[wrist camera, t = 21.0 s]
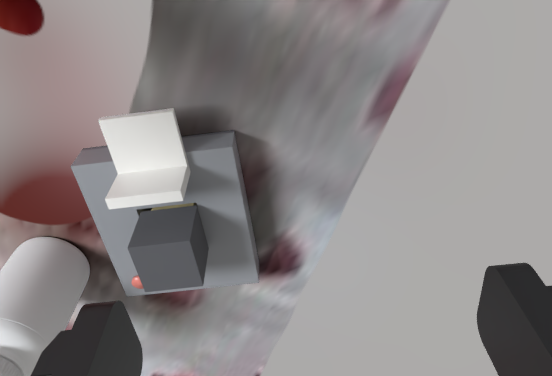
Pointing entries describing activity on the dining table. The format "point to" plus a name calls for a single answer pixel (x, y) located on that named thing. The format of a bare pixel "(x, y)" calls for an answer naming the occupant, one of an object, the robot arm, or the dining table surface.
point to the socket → (200, 189)
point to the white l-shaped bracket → (146, 158)
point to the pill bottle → (37, 299)
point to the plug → (169, 248)
